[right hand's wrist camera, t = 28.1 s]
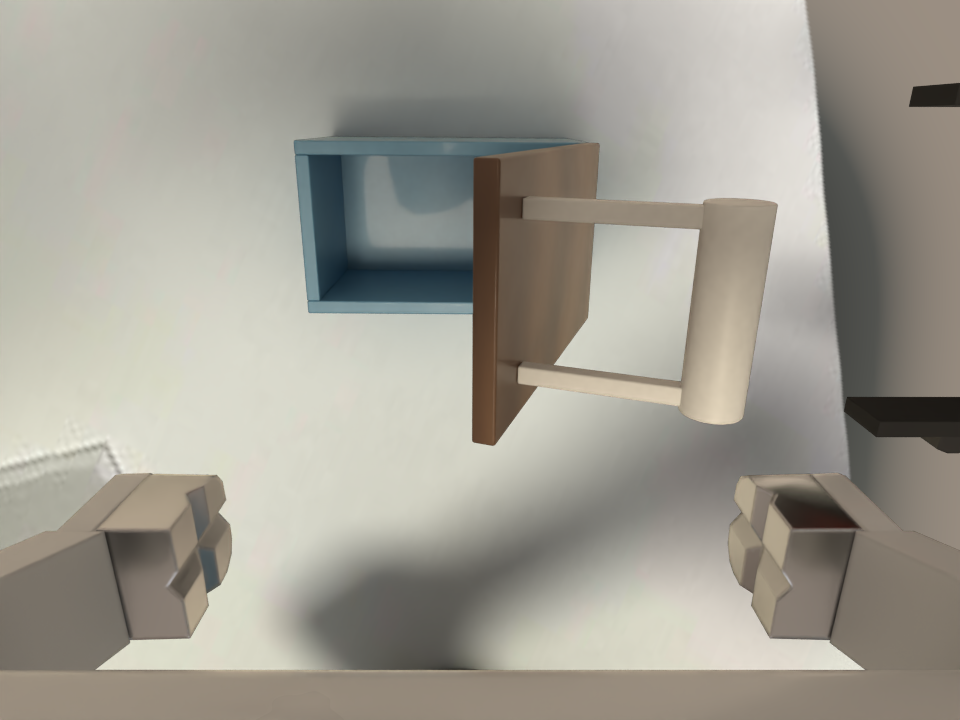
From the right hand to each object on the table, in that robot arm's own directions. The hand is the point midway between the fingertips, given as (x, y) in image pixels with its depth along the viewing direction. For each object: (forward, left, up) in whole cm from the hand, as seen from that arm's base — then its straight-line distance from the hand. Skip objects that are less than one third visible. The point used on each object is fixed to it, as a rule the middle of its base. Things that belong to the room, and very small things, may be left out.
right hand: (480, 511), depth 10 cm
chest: (-2, -1, -36) cm, 37 cm away
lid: (+2, +2, -19) cm, 19 cm away
